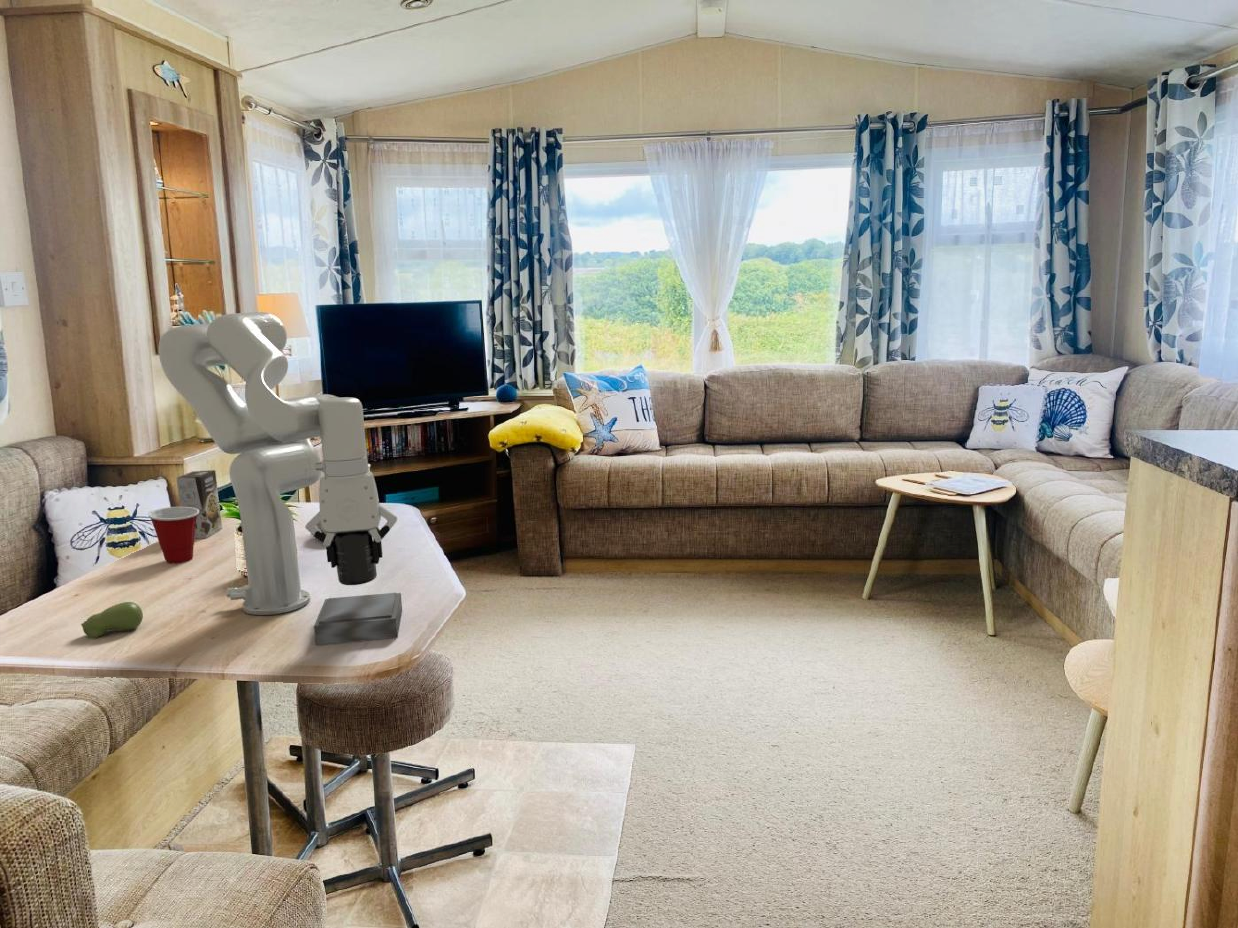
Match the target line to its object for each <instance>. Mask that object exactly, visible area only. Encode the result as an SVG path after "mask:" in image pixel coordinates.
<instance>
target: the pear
mask: <svg viewBox="0 0 1238 928" xmlns="http://www.w3.org/2000/svg"><path fill="white" fill-rule="evenodd" d="M143 614H144V613H143V610H142V608H141V607H140V605H138V604H137V603H135V602H132V601H123V602H121V603H117V604H115V605H112V606H110V607H108V608H106V609H104V610H103V611H102V612H101V611H100V612H99V613H94V614H92V615H91V616H89V617H88V618H87V619H86V620H85V621H83V623H81V624H80V625H81V626H82V630H83V633H84V634H85V635H86V636H88V639H96V638H99V637H101V636H103V635H104V634H106V633H107V632H110V631H123V632H125V631H126V632H128V631H132V630H135V629H136V628H138V627H139V626H140V625H141V623H142V621H143V617H144V616H143Z"/></svg>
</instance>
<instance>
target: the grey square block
mask: <svg viewBox="0 0 1238 928" xmlns="http://www.w3.org/2000/svg"><path fill="white" fill-rule="evenodd" d="M402 602H403V601H402V593H401V592H388V593H378V594H377V593H374V594H365V595H354V596H353V595H351V596H343V597H341V596H339V597H331V598H325V599H324V602H323V604H322V606H321V608H320V611H319V613H318V615H317V618H316V620H315V623H314V625H313V627H314V628H313V629H314V639H315V646H321V645H333V644H343V643H355V642H363V641H365V642H366V641H375V640H386V639H387V640H388V639H397V638H399V632H400V626H401V619H402V615H403V604H402Z"/></svg>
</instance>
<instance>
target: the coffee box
mask: <svg viewBox="0 0 1238 928" xmlns="http://www.w3.org/2000/svg"><path fill="white" fill-rule="evenodd" d="M217 484H218V483H217V474H216V470H213V469H212V470H211V469H210V470H199V471H197V470H196V471H190V472H188V473H185V474H183V475H181V476H178V477H176V485H177V495H178V502H179V507H192V508H196V509H198V510H199V514H198V516H197V520H196V524H195V536H194V539H207V538H209V537H211V536H213V535H215V534H216V533H218V532H219V531H221V530H222V529H223V524H222V523H223V522H222V515H221V507H220V500H219V492H218V485H217ZM218 502H219V504H218Z"/></svg>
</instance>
